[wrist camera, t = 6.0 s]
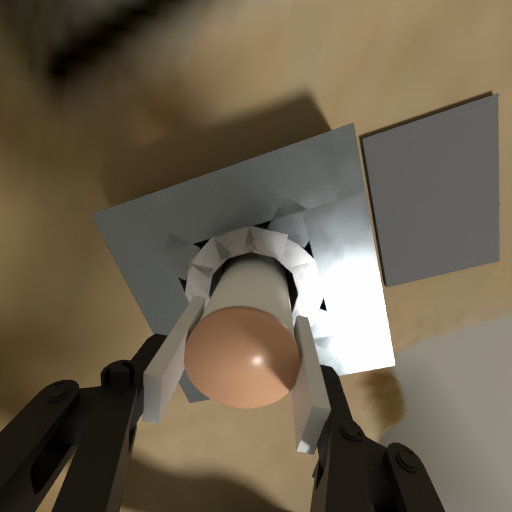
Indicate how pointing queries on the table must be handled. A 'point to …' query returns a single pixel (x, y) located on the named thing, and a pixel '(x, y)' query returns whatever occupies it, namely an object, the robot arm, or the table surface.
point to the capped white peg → (245, 336)
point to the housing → (264, 245)
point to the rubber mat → (436, 192)
